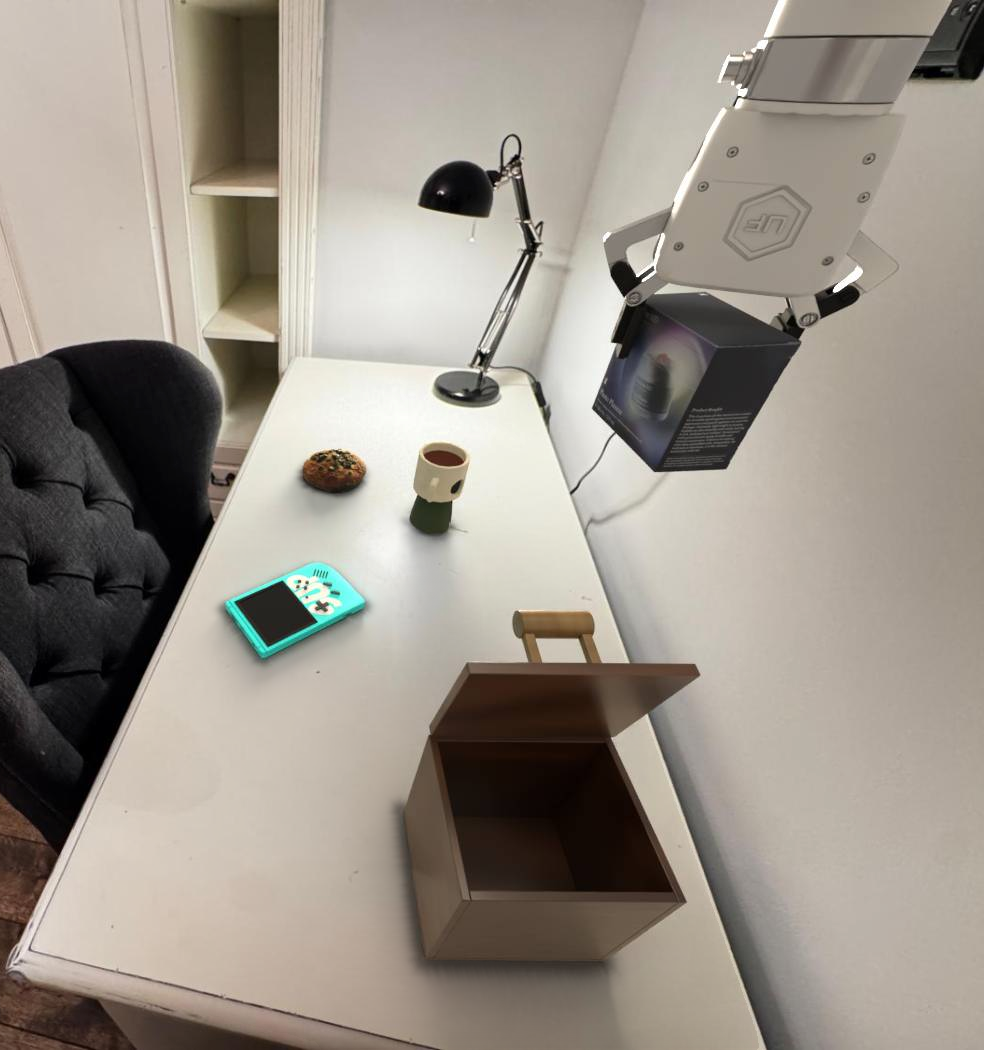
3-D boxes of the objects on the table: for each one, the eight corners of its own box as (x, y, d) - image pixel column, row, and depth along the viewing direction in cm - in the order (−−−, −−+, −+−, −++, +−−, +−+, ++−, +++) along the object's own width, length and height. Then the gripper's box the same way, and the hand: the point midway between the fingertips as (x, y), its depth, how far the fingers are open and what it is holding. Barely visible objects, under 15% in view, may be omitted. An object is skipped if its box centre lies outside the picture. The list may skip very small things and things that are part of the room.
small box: (584, 409, 52) (629, 291, 45) (652, 406, 53) (706, 289, 46) (650, 474, 44) (716, 342, 37) (730, 471, 44) (809, 340, 38)
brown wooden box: (604, 961, 46) (688, 902, 37) (425, 959, 46) (462, 900, 37) (553, 813, 55) (610, 735, 46) (403, 812, 55) (428, 734, 46)
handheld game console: (366, 608, 75) (367, 601, 74) (262, 661, 69) (262, 654, 68) (323, 563, 82) (323, 556, 81) (224, 608, 75) (223, 601, 74)
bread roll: (323, 500, 92) (324, 472, 90) (290, 474, 101) (289, 448, 98) (378, 483, 97) (380, 456, 94) (342, 459, 105) (343, 434, 102)
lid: (701, 675, 36) (665, 598, 39) (469, 673, 36) (453, 596, 39) (614, 737, 45) (591, 670, 49) (430, 736, 45) (420, 669, 49)
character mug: (443, 552, 84) (461, 481, 75) (396, 538, 86) (409, 467, 77) (459, 510, 91) (477, 441, 83) (416, 498, 93) (429, 430, 85)
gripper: (659, 79, 33) (564, 362, 44) (1057, 86, 28) (835, 405, 39) (652, 76, 38) (569, 329, 49) (985, 81, 33) (808, 363, 44)
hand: (686, 362), depth 44 cm, fingers closed on small box, 8 cm apart
